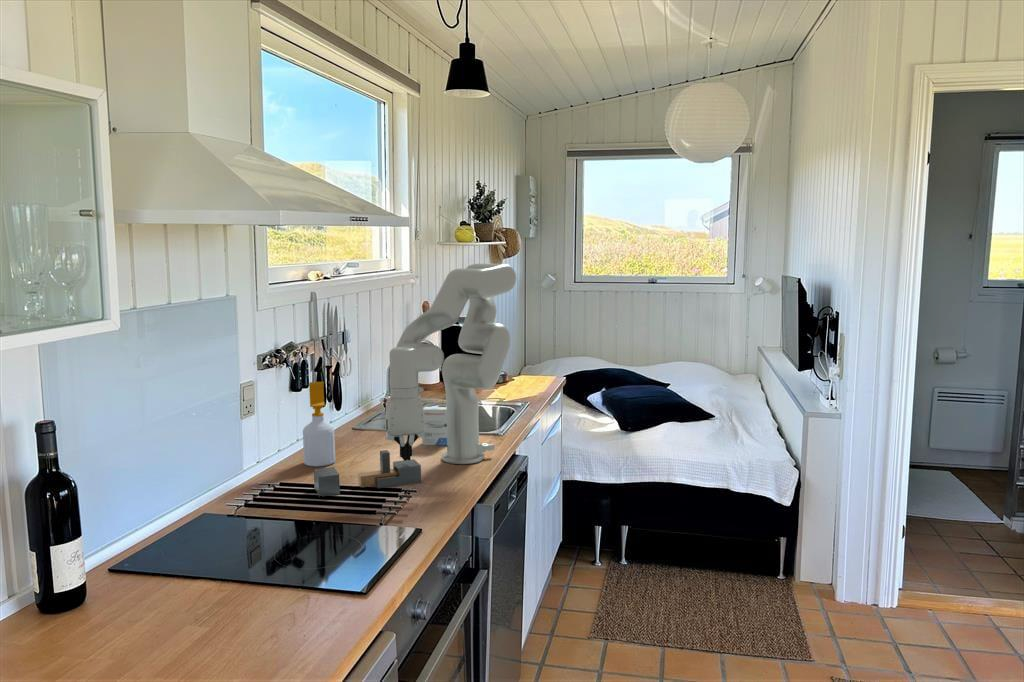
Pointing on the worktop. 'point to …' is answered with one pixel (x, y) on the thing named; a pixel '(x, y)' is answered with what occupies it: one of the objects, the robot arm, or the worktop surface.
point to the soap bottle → (318, 432)
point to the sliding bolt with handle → (385, 471)
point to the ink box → (435, 426)
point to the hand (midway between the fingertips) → (406, 459)
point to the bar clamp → (407, 474)
